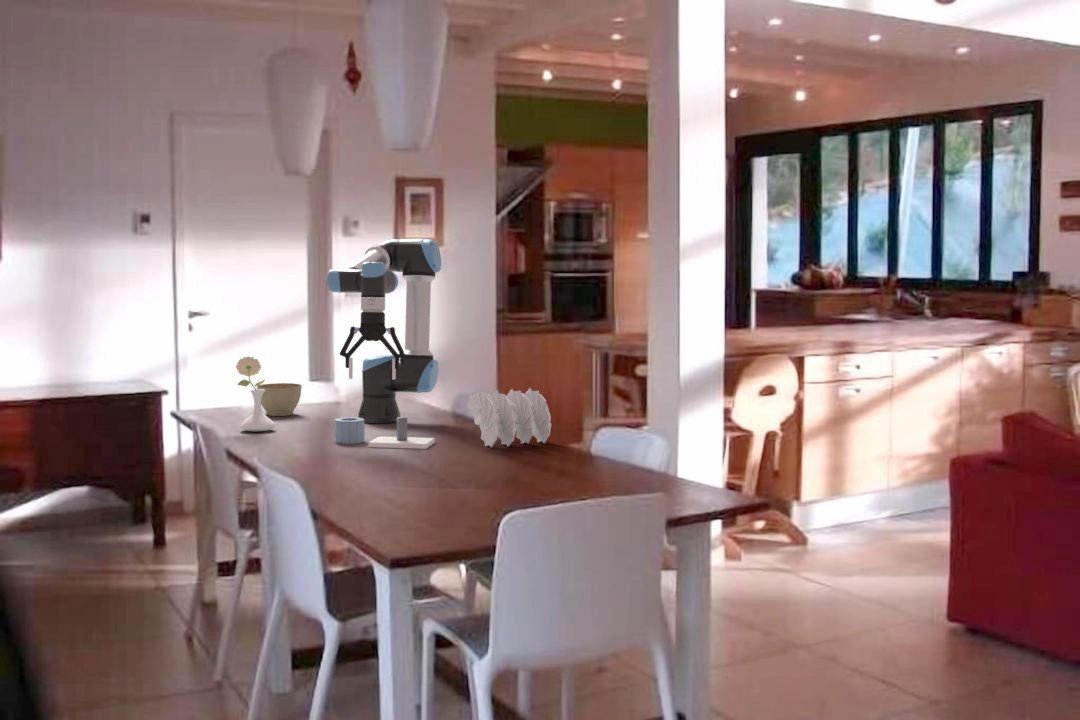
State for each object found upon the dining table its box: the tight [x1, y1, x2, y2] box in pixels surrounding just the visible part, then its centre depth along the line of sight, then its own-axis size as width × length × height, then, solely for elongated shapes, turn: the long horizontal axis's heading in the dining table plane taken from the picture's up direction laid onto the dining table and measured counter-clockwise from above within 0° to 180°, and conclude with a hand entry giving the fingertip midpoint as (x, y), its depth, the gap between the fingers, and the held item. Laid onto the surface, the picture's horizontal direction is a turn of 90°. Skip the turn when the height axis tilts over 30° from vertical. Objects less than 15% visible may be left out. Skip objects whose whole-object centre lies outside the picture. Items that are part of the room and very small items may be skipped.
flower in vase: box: [235, 356, 276, 433], centre depth 394 cm, size 13×11×25 cm
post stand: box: [368, 416, 436, 450], centre depth 368 cm, size 12×18×8 cm, turn 83°
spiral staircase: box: [466, 387, 552, 448], centre depth 370 cm, size 18×18×25 cm
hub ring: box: [334, 416, 365, 445], centre depth 375 cm, size 9×9×7 cm
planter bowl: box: [256, 382, 303, 417], centre depth 435 cm, size 16×16×11 cm
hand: (372, 379), depth 373 cm, fingers open, 13 cm apart
